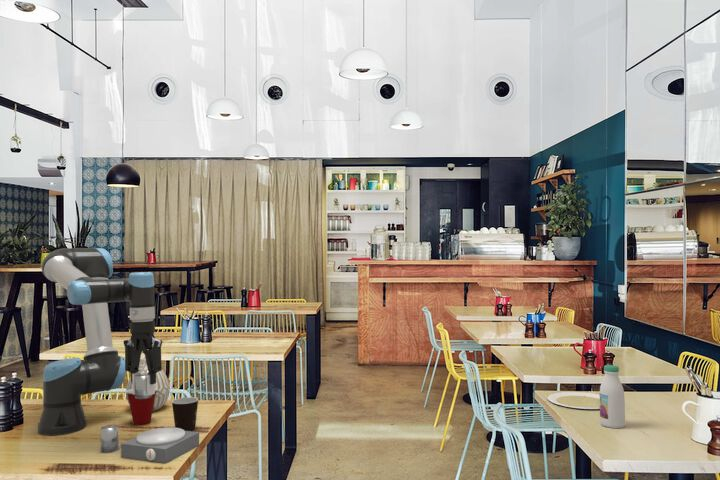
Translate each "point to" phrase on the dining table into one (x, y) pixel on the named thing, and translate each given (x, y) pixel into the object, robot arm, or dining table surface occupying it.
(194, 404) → the coffee mug
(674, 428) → the dining table surface
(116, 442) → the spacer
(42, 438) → the dining table surface
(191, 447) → the scale
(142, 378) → the cylinder
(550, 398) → the plate
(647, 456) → the dining table surface
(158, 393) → the vase
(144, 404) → the plastic cup
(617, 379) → the milk bottle
